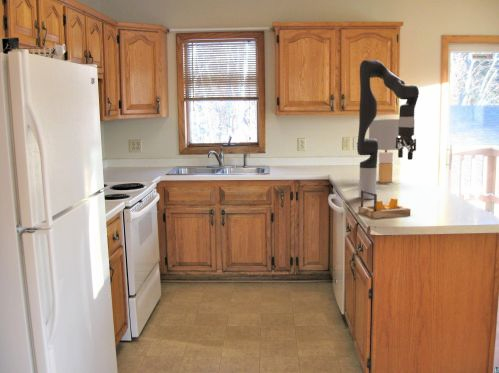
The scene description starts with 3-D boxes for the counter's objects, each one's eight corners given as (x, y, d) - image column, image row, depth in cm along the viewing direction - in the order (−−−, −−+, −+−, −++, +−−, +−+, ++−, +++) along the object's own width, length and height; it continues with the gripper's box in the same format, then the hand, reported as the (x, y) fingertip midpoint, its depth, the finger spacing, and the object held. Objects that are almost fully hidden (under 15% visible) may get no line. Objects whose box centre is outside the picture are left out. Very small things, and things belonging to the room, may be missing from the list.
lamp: (376, 185, 339) (378, 120, 332) (362, 180, 361) (363, 119, 354) (409, 183, 343) (411, 119, 337) (392, 179, 365) (394, 119, 359)
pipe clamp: (390, 210, 255) (390, 197, 254) (397, 212, 251) (397, 198, 250) (372, 213, 249) (372, 200, 248) (378, 214, 245) (379, 201, 244)
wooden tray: (358, 212, 254) (358, 189, 253) (392, 209, 260) (393, 187, 258) (374, 218, 240) (375, 194, 239) (410, 215, 246) (411, 192, 244)
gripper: (391, 125, 264) (390, 157, 267) (407, 126, 250) (406, 160, 253) (404, 125, 266) (403, 156, 269) (421, 126, 253) (420, 159, 255)
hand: (405, 158), depth 261 cm, fingers open, 8 cm apart
